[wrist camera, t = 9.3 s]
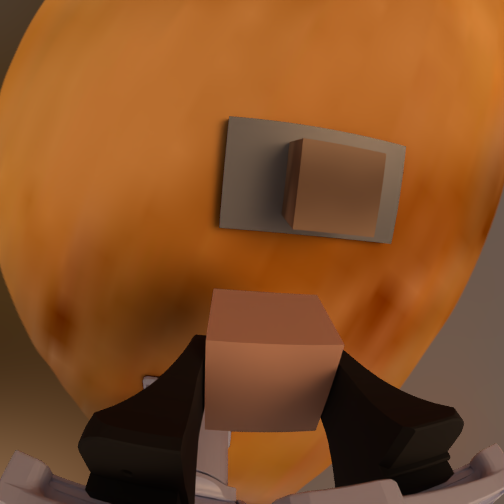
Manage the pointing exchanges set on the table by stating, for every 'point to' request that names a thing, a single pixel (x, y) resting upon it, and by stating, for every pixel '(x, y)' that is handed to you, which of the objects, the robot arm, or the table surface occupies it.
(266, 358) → the terracotta brick
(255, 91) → the table surface
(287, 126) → the baseplate
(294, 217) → the walnut brick
